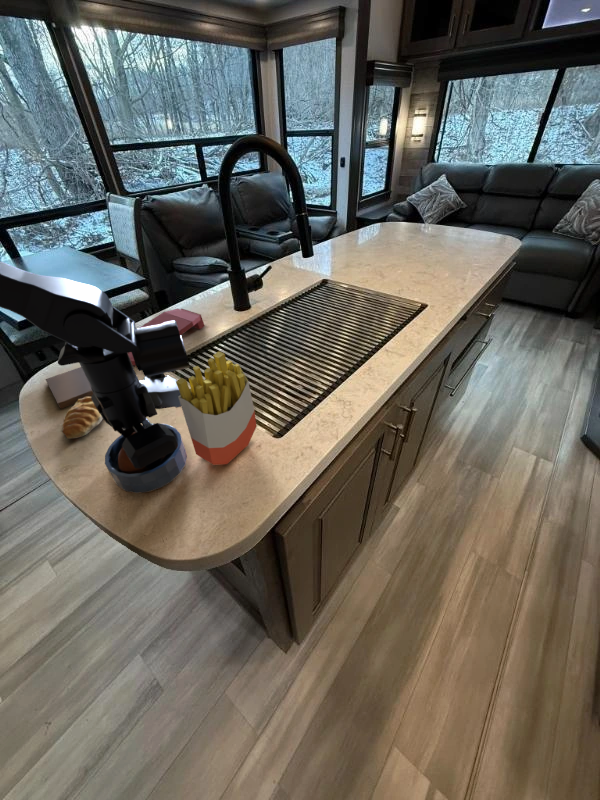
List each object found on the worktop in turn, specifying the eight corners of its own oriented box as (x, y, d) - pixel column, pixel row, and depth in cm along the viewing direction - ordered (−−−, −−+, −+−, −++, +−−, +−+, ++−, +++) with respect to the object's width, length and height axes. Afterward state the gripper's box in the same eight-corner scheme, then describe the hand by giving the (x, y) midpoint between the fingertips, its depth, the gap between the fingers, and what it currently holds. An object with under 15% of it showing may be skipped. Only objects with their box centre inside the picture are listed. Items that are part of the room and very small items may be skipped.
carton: (141, 378, 84) (209, 327, 98) (132, 363, 80) (204, 312, 94) (113, 364, 89) (181, 318, 103) (103, 350, 86) (175, 303, 99)
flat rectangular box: (61, 409, 69) (57, 403, 68) (48, 384, 76) (45, 379, 76) (119, 386, 76) (117, 380, 75) (103, 365, 83) (100, 360, 82)
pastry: (92, 440, 62) (84, 425, 60) (55, 442, 62) (45, 427, 59) (111, 408, 69) (104, 393, 67) (78, 410, 69) (70, 395, 67)
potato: (184, 453, 58) (176, 426, 54) (139, 491, 52) (126, 464, 48) (158, 438, 61) (148, 412, 57) (112, 472, 55) (97, 445, 51)
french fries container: (259, 437, 62) (248, 354, 51) (217, 475, 55) (194, 389, 44) (241, 427, 64) (227, 345, 53) (198, 463, 57) (172, 378, 46)
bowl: (130, 508, 51) (119, 490, 48) (105, 464, 58) (95, 446, 55) (199, 467, 57) (194, 449, 54) (169, 431, 64) (163, 414, 61)
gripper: (199, 387, 45) (218, 463, 54) (145, 338, 56) (169, 409, 65) (114, 425, 39) (152, 503, 49) (72, 362, 50) (110, 436, 60)
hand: (148, 456), depth 56 cm, fingers closed on potato, 7 cm apart
